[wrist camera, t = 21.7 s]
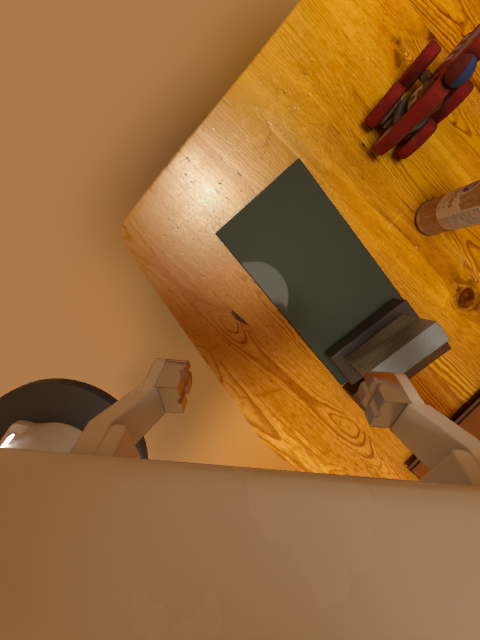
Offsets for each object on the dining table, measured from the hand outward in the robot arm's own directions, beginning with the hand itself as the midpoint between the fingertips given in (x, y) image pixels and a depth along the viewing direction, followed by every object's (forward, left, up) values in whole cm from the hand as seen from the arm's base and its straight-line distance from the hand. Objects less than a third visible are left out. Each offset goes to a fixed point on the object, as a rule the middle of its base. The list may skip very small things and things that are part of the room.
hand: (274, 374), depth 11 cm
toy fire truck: (+30, +7, -23) cm, 38 cm away
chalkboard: (+10, -3, -22) cm, 25 cm away
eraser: (+10, -13, -22) cm, 28 cm away
